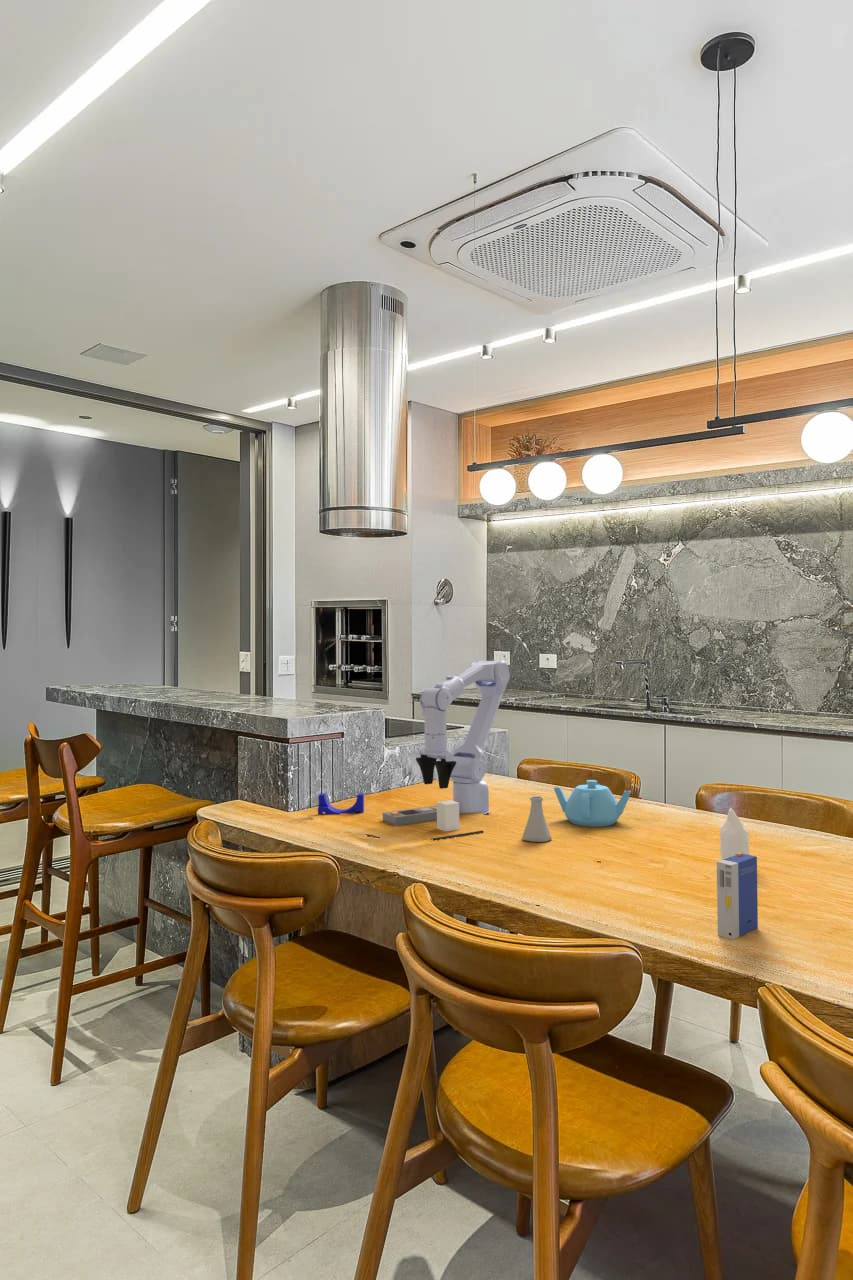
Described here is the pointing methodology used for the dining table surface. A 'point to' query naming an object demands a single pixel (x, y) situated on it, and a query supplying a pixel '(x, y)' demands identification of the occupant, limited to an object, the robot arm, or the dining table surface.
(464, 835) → the rubber mat
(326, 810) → the blue arch block
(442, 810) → the plug
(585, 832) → the dining table surface
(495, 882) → the dining table surface
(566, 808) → the teapot
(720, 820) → the dining table surface
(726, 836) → the glue bottle
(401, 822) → the power strip
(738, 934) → the walkman
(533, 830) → the flask
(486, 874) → the dining table surface
